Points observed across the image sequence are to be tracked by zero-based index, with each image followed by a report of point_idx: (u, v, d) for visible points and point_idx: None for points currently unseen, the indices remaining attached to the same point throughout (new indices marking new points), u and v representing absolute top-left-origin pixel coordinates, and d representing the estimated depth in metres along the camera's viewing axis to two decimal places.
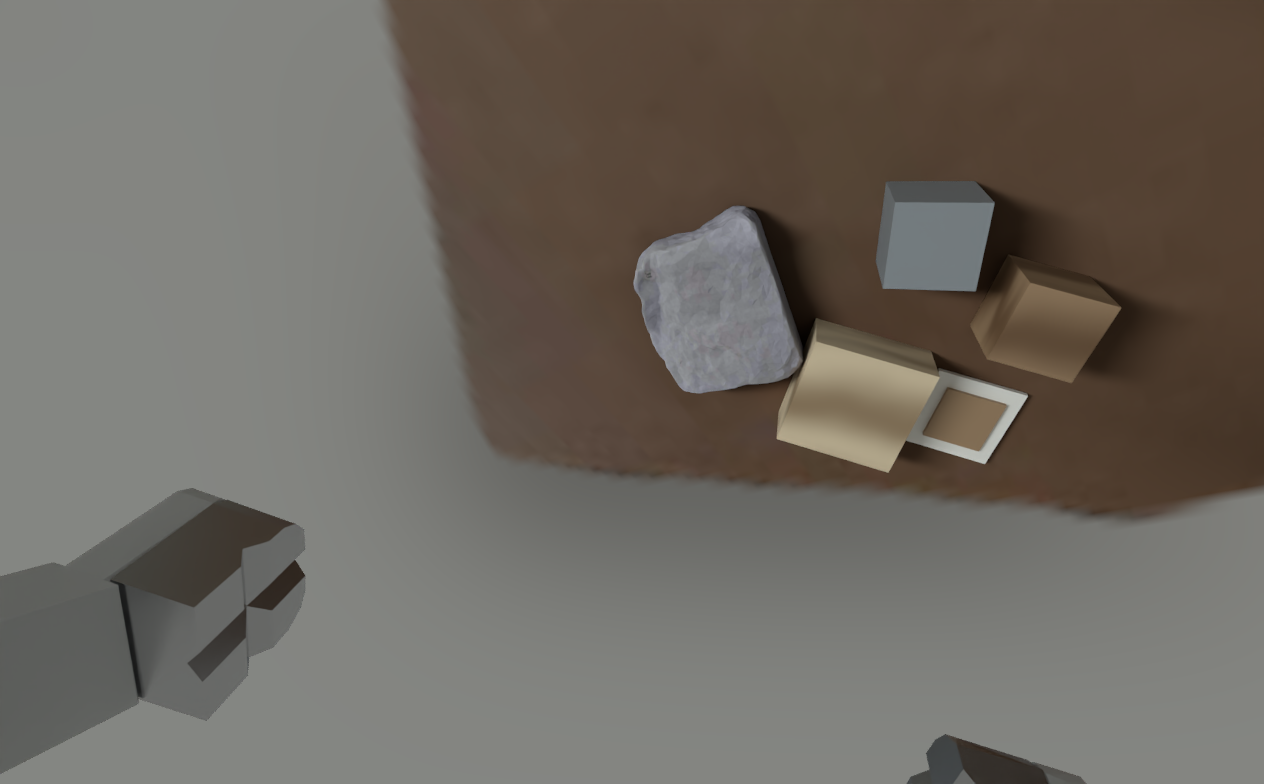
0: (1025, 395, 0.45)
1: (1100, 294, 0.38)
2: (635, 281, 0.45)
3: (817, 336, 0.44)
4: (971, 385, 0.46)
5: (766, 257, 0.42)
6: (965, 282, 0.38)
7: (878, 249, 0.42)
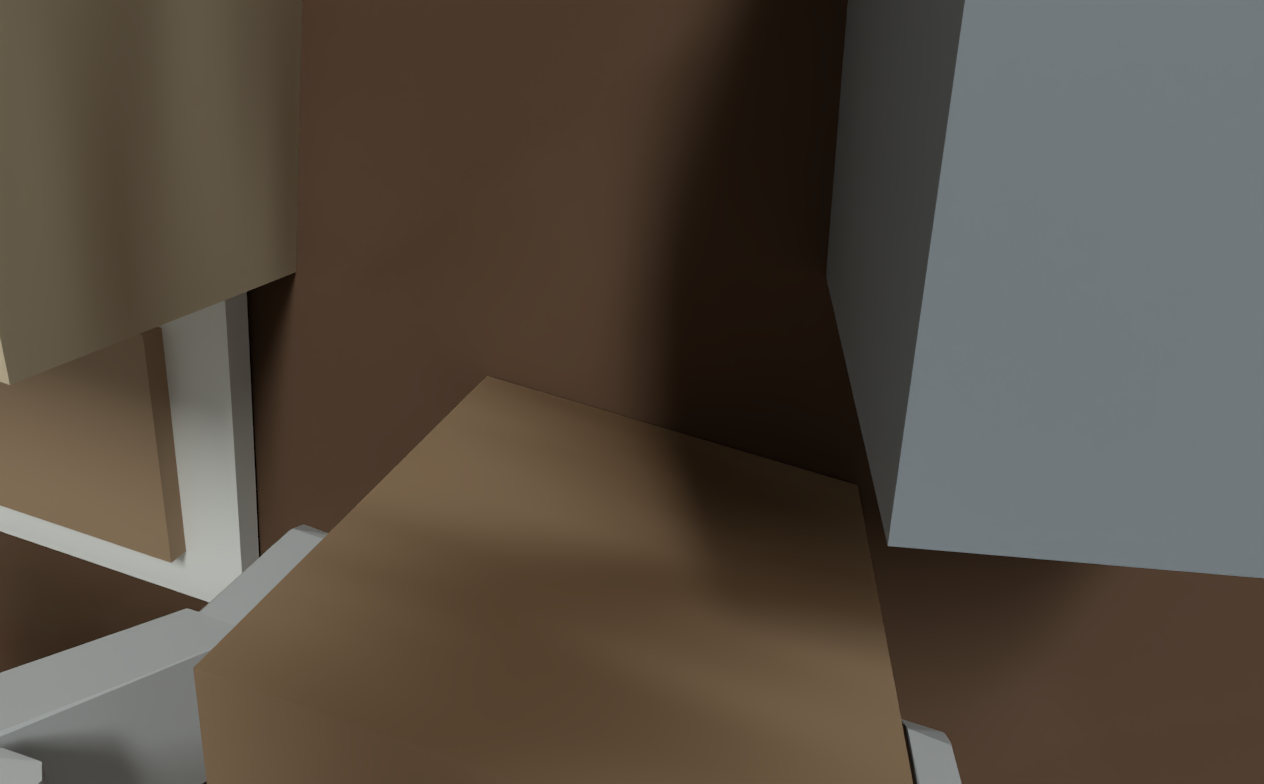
0: None
1: None
2: None
3: None
4: (208, 424, 0.10)
5: None
6: (1029, 432, 0.03)
7: None
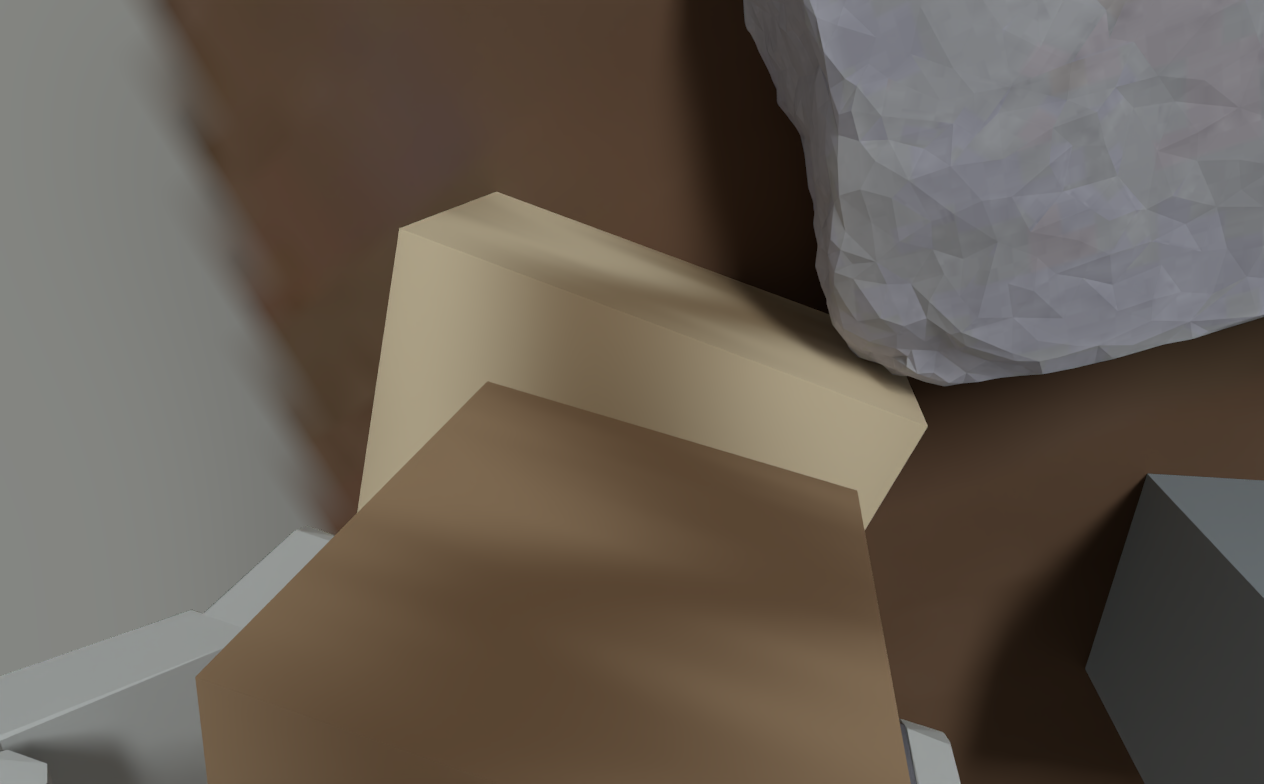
0: None
1: None
2: None
3: None
4: None
5: None
6: None
7: (1222, 494, 0.12)
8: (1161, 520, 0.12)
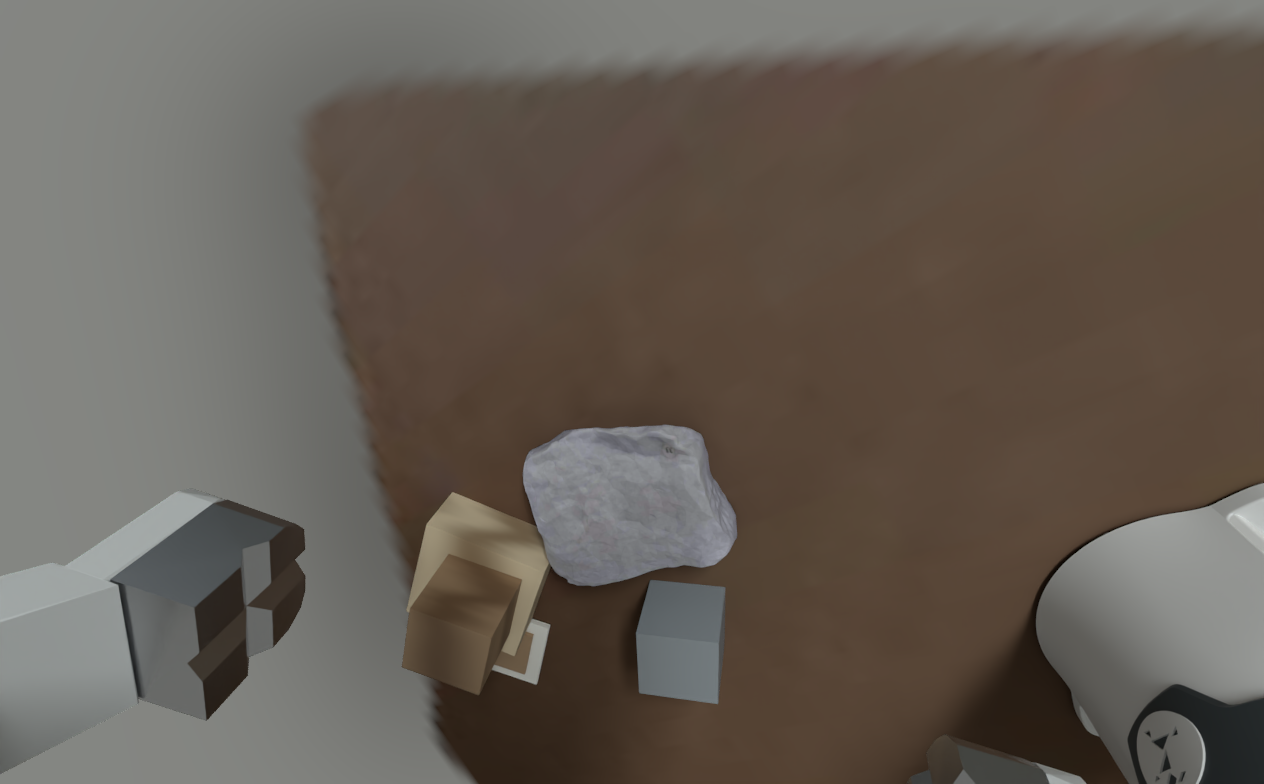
0: (536, 682, 0.51)
1: (490, 668, 0.41)
2: (661, 434, 0.37)
3: (548, 565, 0.43)
4: (538, 649, 0.49)
5: None
6: (646, 687, 0.42)
7: (662, 587, 0.44)
8: None
